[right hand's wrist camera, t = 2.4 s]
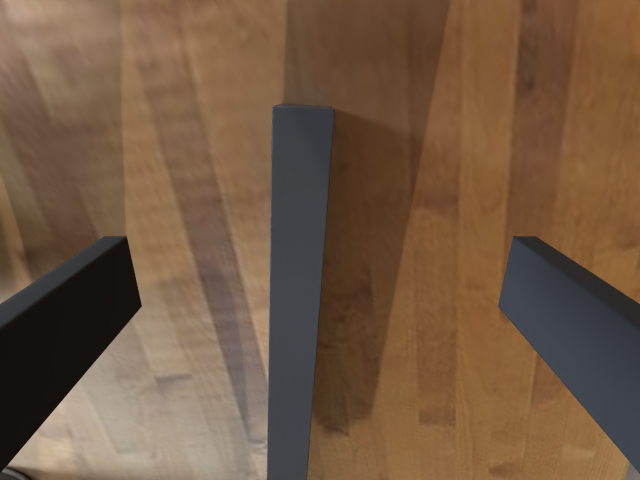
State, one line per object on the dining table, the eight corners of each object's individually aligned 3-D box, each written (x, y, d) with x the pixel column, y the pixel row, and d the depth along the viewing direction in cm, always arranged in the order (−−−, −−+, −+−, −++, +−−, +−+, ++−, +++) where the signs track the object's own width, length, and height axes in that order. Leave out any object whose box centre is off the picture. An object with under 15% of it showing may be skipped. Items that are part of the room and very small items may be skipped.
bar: (282, 103, 34) (272, 105, 27) (331, 107, 34) (334, 110, 27) (272, 540, 60) (265, 604, 52) (300, 542, 60) (297, 605, 53)
